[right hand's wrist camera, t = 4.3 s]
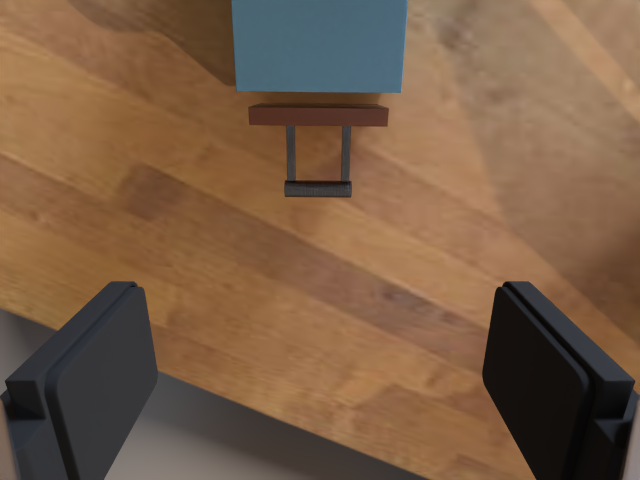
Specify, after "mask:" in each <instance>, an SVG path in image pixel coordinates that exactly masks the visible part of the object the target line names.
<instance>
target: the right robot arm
mask: <svg viewBox="0 0 640 480" xmlns="http://www.w3.org/2000/svg"><path fill="white" fill-rule="evenodd" d="M157 377H158V371H157V365H156V358H155V352H154V346H153V340H152V334H151V328H150V322H149V315H148V309H147V303H146V297H145V292H144V289H143V288H142V287H138V286H137V284H136V283H135V282H110V283H109V284H108V285H107V286H106V287H104V288H103V289H102V290H101V291H100V292H99V293H98V294H97V295H96V296H95V297H94V298H93V299H92V300H91V301H90V302H88V303H87V304H86V305H85V306H84V307H83V308H82V309H81V310H80V311H79V312H78V313H77V314H76V315H75V316H74V317H72V318H71V319H70V320H69V321H68V322H67V323H66V324H65V325H64V326H63V327H62V328H61V329H60V330H59V331H57V332H56V333H55V334H54V335H53V336H52V337H51V338H50V339H49V340H48V341H47V342H46V343H45V344H44V345H43V346H41V347H40V348H39V349H38V350H37V351H36V352H35V353H34V354H33V355H32V356H31V357H30V358H29V359H28V360H27V361H25V362H24V363H23V364H22V365H21V366H20V367H19V368H18V369H17V370H16V371H15V372H14V373H13V374H12V375H11V376H9V377H8V378H7V379H6V380H5V383H6V386H7V390H6V391H5V392H4V393H3V394H2V395H1V396H0V480H104V478H105V476H106V474H107V473H108V471H109V469H110V467H111V465H112V464H113V462H114V460H115V458H116V456H117V454H118V453H119V451H120V449H121V447H122V445H123V444H124V442H125V440H126V438H127V436H128V434H129V433H130V431H131V429H132V427H133V425H134V423H135V422H136V420H137V418H138V416H139V414H140V413H141V411H142V409H143V407H144V405H145V403H146V402H147V400H148V398H149V396H150V394H151V393H152V391H153V389H154V387H155V385H156V382H157ZM482 377H483V382H484V385H485V387H486V389H487V391H488V393H489V394H490V396H491V398H492V400H493V402H494V403H495V405H496V407H497V409H498V411H499V413H500V414H501V416H502V418H503V420H504V422H505V424H506V425H507V427H508V429H509V431H510V433H511V434H512V436H513V438H514V440H515V442H516V444H517V445H518V447H519V449H520V451H521V453H522V454H523V456H524V458H525V460H526V462H527V464H528V465H529V467H530V469H531V471H532V473H533V475H534V476H535V478H536V480H640V396H639V395H638V394H637V393H636V392H635V391H634V390H633V386H634V383H635V380H634V379H633V378H632V377H631V376H629V375H628V374H627V373H626V372H625V371H624V370H623V369H622V368H621V367H620V366H619V365H618V364H617V363H616V362H615V361H613V360H612V359H611V358H610V357H609V356H608V355H607V354H606V353H605V352H604V351H603V350H602V349H601V348H600V347H599V346H597V345H596V344H595V343H594V342H593V341H592V340H591V339H590V338H589V337H588V336H587V335H586V334H585V333H584V332H583V331H581V330H580V329H579V328H578V327H577V326H576V325H575V324H574V323H573V322H572V321H571V320H570V319H569V318H568V317H566V316H565V315H564V314H563V313H562V312H561V311H560V310H559V309H558V308H557V307H556V306H555V305H554V304H553V303H552V302H550V301H549V300H548V299H547V298H546V297H545V296H544V295H543V294H542V293H541V292H540V291H539V290H538V289H537V288H536V287H534V286H533V285H532V284H531V283H530V282H505V283H504V284H503V286H502V287H498V288H497V289H496V292H495V297H494V303H493V309H492V315H491V322H490V328H489V334H488V340H487V346H486V352H485V358H484V365H483V371H482Z"/></svg>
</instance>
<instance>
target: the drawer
mask: <svg viewBox="0 0 640 480" xmlns="http://www.w3.org/2000/svg"><path fill="white" fill-rule="evenodd" d="M388 113H389V109H388V108H386V107H383V106H380V105H377V104H299V103H260V104H257V105H254V106H250V107H249V124H250V125H286V134H287V180H285V186H284V191H285V197H341V198H350V197H351V193H352V183H351V181H349V166H350V137H351V126H388ZM295 126H342V156H341V181H310V180H295V179H296V177H295Z"/></svg>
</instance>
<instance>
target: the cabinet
mask: <svg viewBox="0 0 640 480" xmlns="http://www.w3.org/2000/svg"><path fill="white" fill-rule="evenodd" d="M231 8H232V26H233V44H234V61H235V79H236V91H266V92H360V93H401V90H402V76H403V62H404V49H405V35H406V21H407V8H408V0H231Z"/></svg>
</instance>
